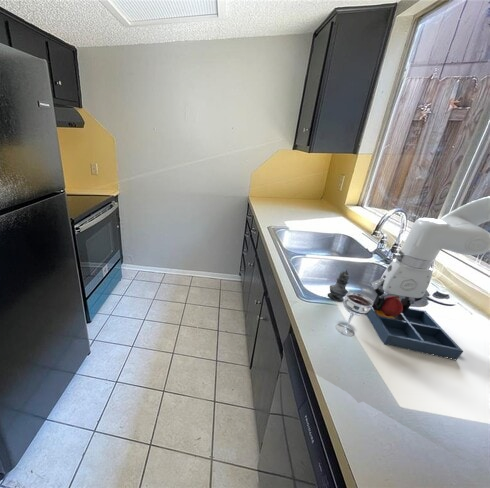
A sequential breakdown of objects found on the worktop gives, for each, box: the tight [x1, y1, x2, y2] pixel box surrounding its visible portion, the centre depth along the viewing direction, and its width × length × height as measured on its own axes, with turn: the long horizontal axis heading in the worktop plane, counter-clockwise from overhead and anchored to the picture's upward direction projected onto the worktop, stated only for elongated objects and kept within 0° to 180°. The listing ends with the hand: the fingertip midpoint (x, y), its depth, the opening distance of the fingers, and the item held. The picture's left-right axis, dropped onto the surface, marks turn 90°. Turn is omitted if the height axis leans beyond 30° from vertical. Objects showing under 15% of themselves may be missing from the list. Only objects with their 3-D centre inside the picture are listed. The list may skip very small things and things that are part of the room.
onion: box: [380, 295, 403, 316], centre depth 82 cm, size 6×6×8 cm
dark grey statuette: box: [327, 269, 351, 303], centre depth 92 cm, size 6×6×12 cm
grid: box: [365, 300, 464, 361], centre depth 80 cm, size 17×17×4 cm
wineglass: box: [335, 291, 374, 337], centre depth 77 cm, size 7×7×12 cm
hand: (389, 308), depth 83 cm, fingers closed on onion, 5 cm apart
